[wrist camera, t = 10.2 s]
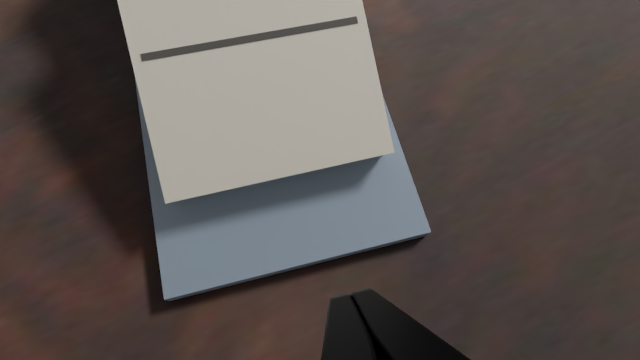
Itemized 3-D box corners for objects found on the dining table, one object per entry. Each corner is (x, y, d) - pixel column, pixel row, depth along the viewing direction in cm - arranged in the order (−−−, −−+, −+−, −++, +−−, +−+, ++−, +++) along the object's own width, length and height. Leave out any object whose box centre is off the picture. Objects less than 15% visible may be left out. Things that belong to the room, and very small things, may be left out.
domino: (394, 152, 18) (336, -120, 18) (164, 203, 17) (95, -89, 17) (382, 154, 20) (329, -93, 20) (174, 201, 19) (111, -63, 18)
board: (426, 235, 20) (431, 232, 19) (169, 301, 18) (163, 299, 17) (300, -122, 28) (301, -135, 27) (115, -99, 26) (109, -112, 25)
